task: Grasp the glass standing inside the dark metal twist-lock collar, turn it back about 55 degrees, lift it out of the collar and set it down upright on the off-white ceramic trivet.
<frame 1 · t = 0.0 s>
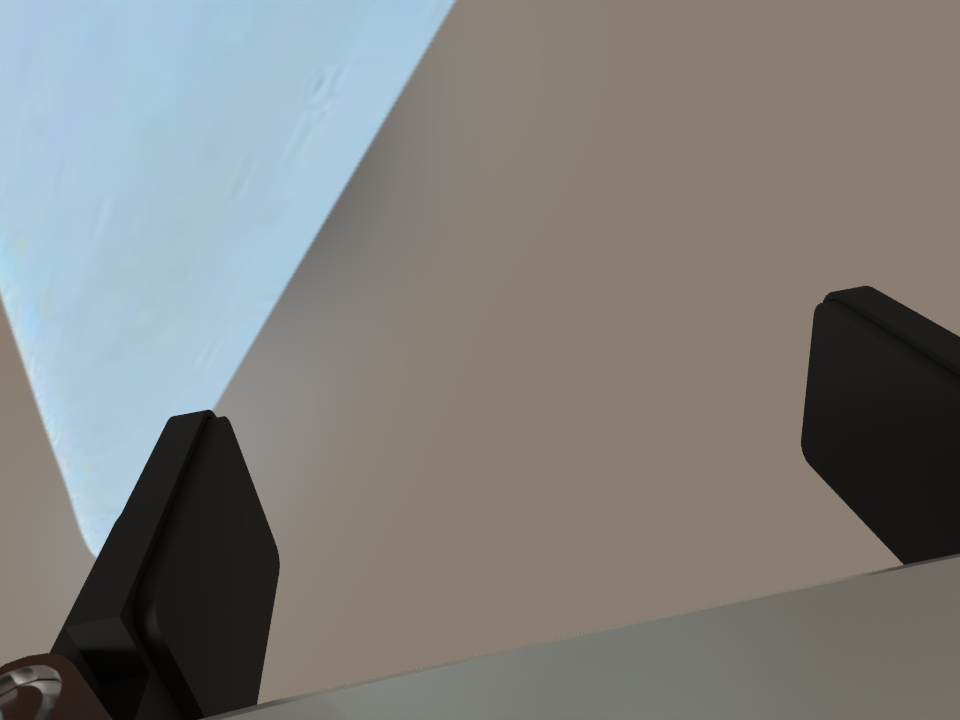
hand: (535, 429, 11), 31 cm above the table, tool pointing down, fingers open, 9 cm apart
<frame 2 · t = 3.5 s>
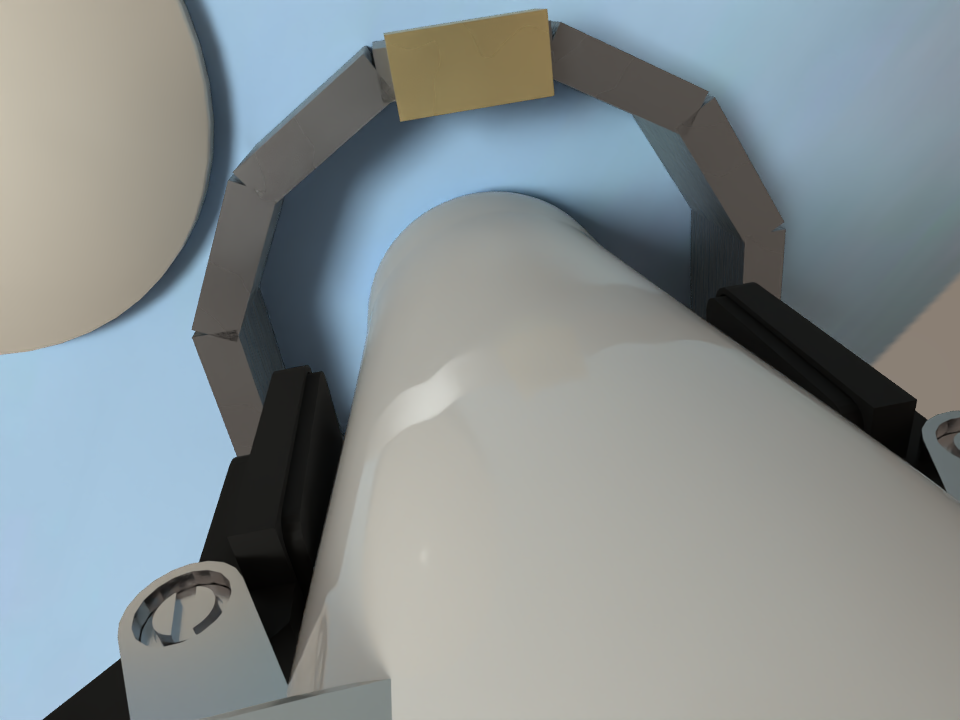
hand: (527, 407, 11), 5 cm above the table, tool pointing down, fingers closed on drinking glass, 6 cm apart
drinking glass: (486, 298, 16), resting in collar, touching gripper
collar: (486, 300, 16), on the table
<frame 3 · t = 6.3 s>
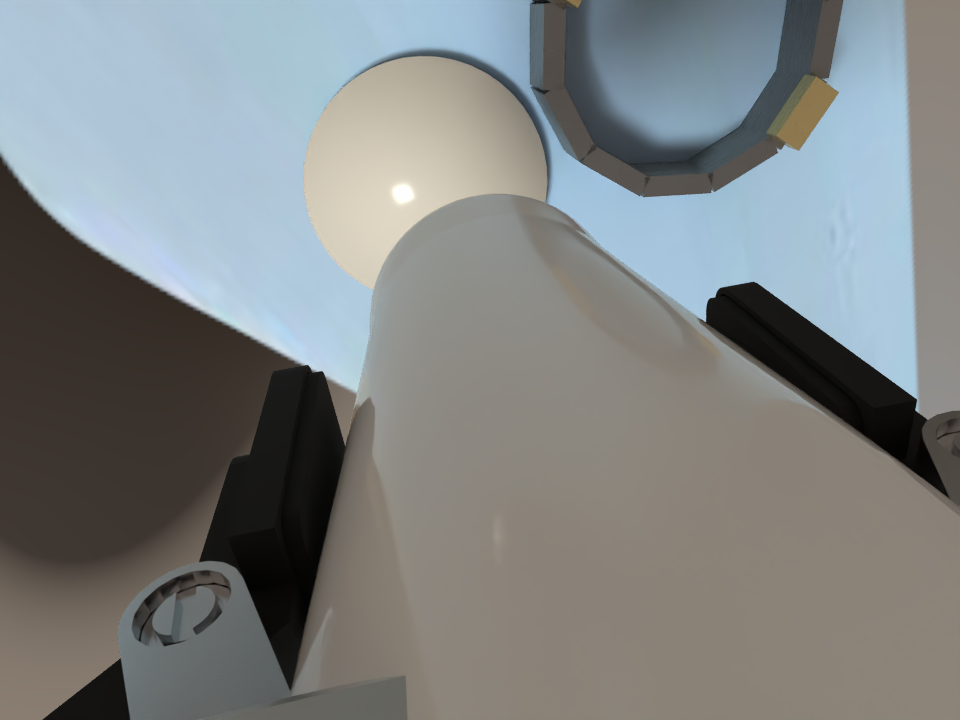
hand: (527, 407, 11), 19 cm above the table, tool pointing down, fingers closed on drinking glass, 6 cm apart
trivet: (427, 185, 29), on the table
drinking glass: (488, 300, 16), point 14 cm above the table, touching gripper
collar: (667, 40, 27), on the table
when the fingers open (6 cm above the table, at t = 9.3 s): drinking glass drops 1 cm, resting on trivet.
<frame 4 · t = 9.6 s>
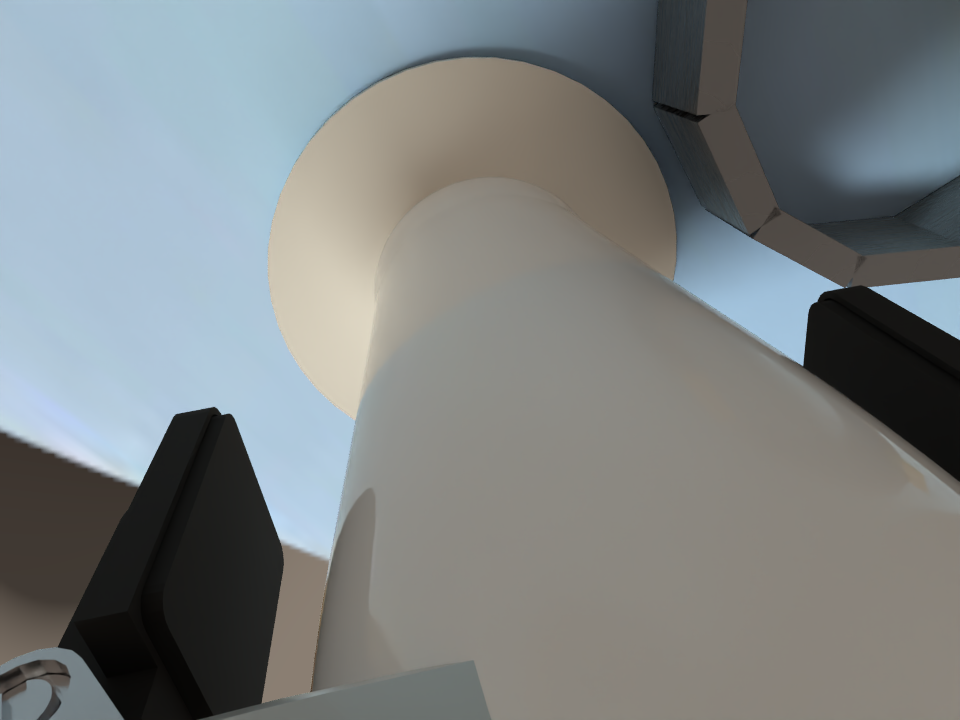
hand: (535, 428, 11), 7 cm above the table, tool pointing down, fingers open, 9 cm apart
trivet: (476, 272, 17), on the table
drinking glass: (483, 277, 17), resting on trivet
collar: (890, 17, 16), on the table
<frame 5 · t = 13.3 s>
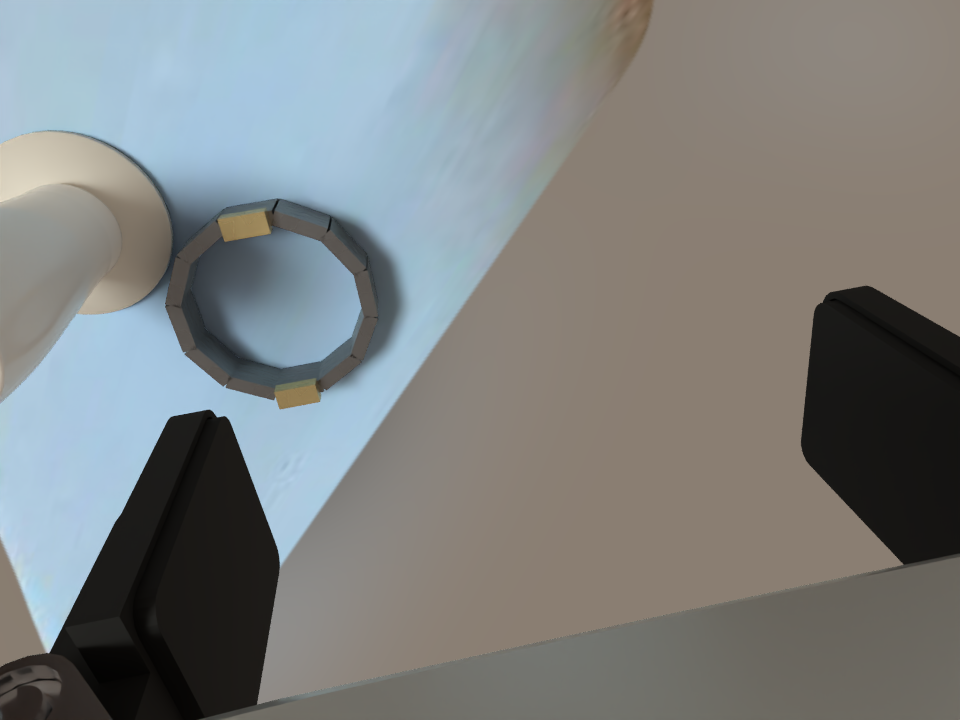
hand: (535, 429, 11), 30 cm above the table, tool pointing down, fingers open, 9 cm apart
trivet: (75, 225, 37), on the table
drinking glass: (74, 229, 37), resting on trivet
collar: (279, 295, 41), on the table
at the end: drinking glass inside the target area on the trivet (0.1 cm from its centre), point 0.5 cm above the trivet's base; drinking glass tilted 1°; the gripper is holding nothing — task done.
